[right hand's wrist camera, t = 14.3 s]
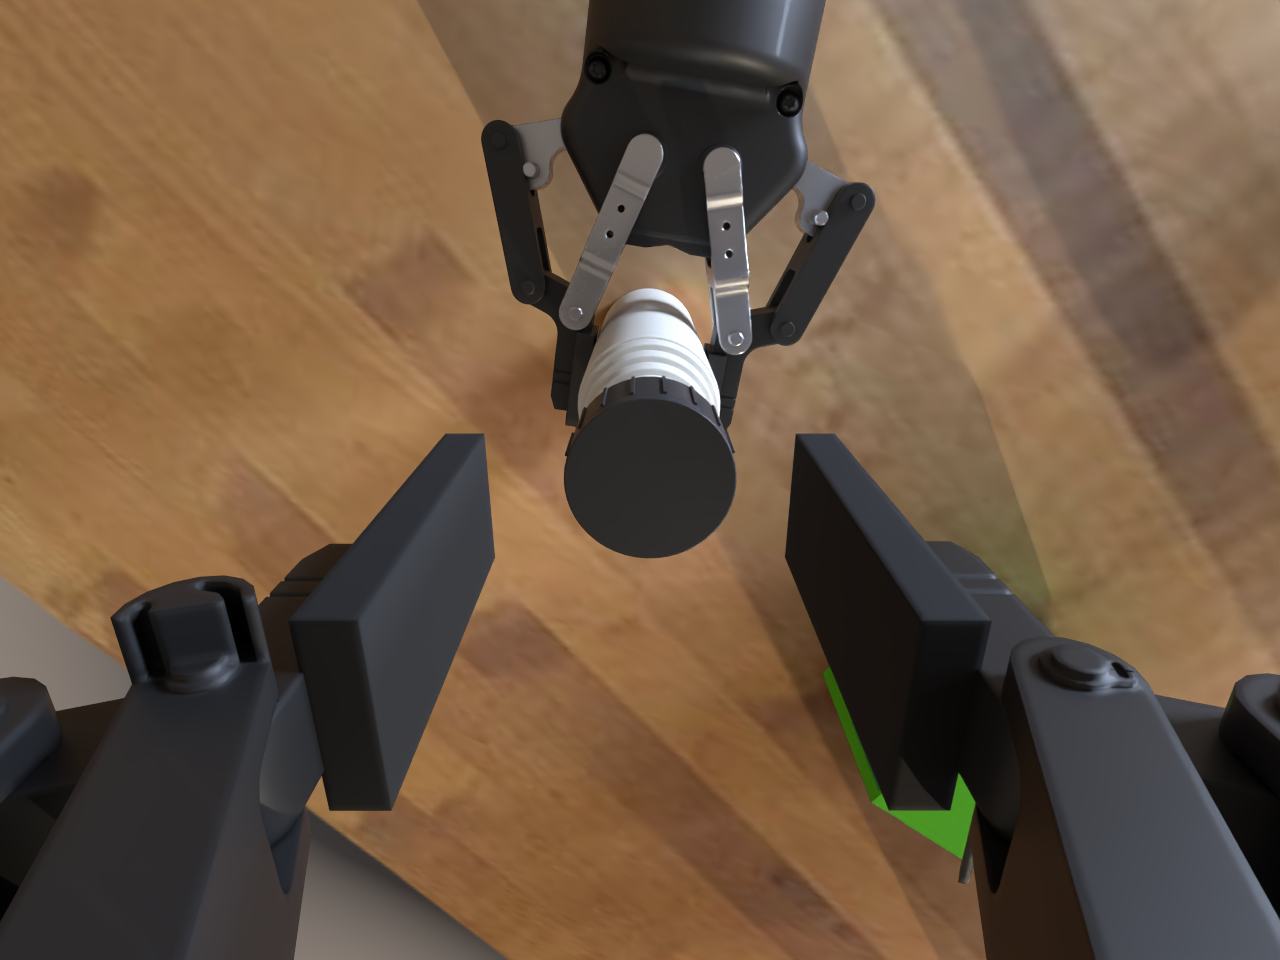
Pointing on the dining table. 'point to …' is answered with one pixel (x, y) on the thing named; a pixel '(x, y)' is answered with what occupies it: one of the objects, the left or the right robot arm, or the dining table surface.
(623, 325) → the bottle
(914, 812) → the toy car
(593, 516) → the cap
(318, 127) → the dining table surface
